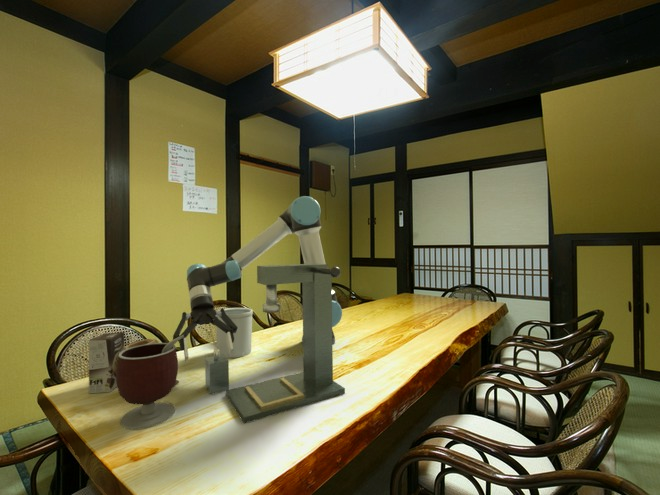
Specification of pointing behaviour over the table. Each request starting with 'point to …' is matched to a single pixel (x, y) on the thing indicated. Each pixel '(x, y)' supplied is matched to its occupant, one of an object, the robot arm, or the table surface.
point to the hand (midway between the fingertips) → (209, 354)
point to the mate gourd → (147, 382)
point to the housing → (216, 373)
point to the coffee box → (104, 361)
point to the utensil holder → (242, 335)
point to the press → (316, 345)
